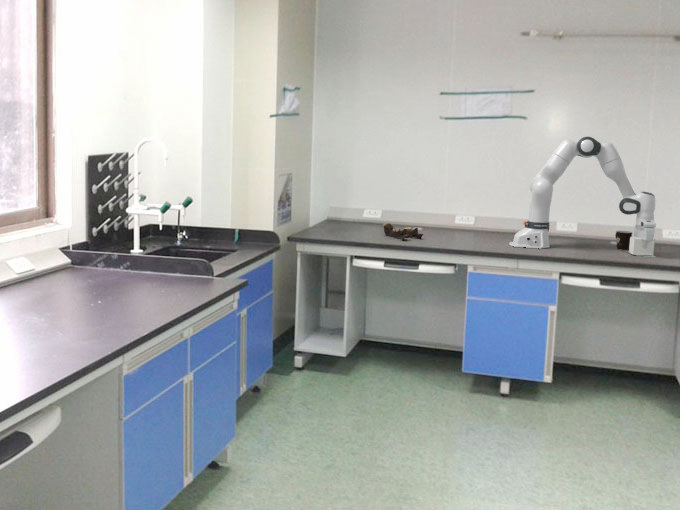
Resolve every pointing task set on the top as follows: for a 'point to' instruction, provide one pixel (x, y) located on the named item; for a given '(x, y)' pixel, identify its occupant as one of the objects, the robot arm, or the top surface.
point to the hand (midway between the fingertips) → (642, 247)
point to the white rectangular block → (640, 247)
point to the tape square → (646, 255)
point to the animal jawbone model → (400, 232)
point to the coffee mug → (623, 239)
